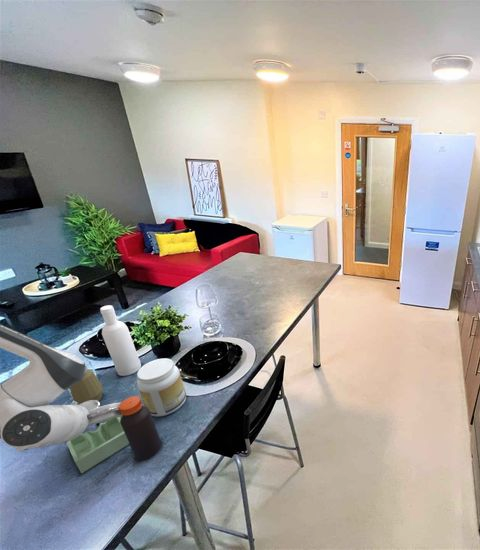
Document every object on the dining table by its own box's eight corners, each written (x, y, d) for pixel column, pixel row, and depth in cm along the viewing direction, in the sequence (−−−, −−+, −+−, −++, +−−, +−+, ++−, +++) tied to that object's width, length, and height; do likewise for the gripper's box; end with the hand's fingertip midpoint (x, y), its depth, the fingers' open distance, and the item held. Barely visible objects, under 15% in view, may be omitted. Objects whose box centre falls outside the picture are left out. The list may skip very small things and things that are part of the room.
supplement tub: (190, 388, 112) (180, 353, 105) (182, 413, 102) (171, 376, 95) (153, 395, 109) (140, 359, 102) (141, 422, 98) (127, 384, 91)
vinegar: (138, 443, 91) (118, 397, 83) (163, 436, 94) (146, 390, 86) (132, 463, 86) (110, 416, 77) (159, 455, 88) (141, 408, 80)
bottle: (144, 368, 121) (122, 307, 108) (120, 379, 115) (95, 315, 103) (137, 360, 125) (116, 300, 113) (115, 369, 119) (89, 307, 107)
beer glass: (114, 429, 95) (99, 395, 89) (117, 443, 90) (101, 409, 84) (86, 442, 90) (67, 408, 84) (87, 458, 86) (68, 423, 80)
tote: (81, 473, 83) (74, 462, 81) (70, 447, 89) (63, 436, 87) (133, 441, 92) (129, 430, 90) (120, 420, 99) (115, 409, 97)
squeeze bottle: (102, 388, 111) (85, 350, 103) (109, 398, 106) (92, 360, 99) (73, 401, 105) (53, 362, 97) (80, 413, 100) (59, 373, 93)
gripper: (115, 395, 79) (131, 396, 91) (7, 427, 69) (40, 423, 81) (117, 419, 77) (133, 417, 89) (7, 455, 68) (40, 447, 79)
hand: (88, 420), depth 85 cm, fingers open, 8 cm apart
